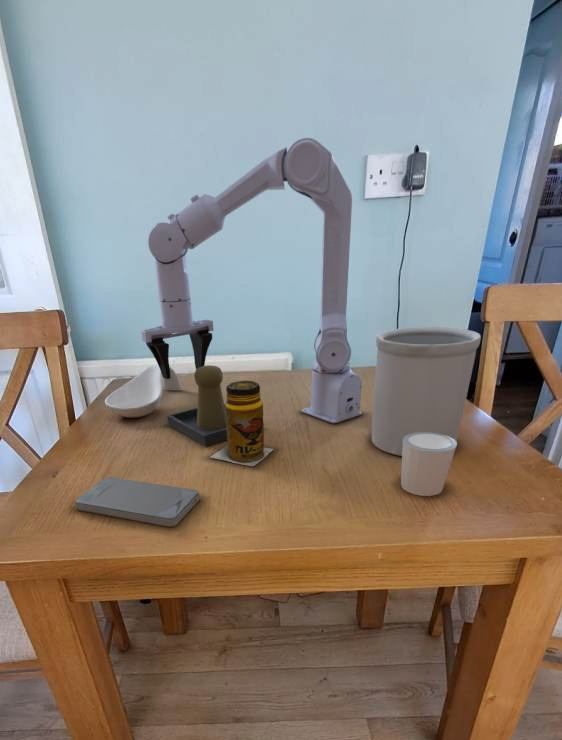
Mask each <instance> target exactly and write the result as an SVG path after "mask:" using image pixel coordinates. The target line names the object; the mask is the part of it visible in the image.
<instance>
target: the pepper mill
mask: <svg viewBox="0 0 562 740" xmlns="http://www.w3.org/2000/svg"><path fill="white" fill-rule="evenodd" d="M193 376H194V382H195V384H196V385H197V387H198V388H197V407H198V412H197V427H198V428H200V429H203V430H218V429H222V428H224V427H226V411H225V406H224V404H225V401H224V395H223V391H222V387H221V384H222V383H223V378H224V373H223V371H222V369H221V368H220V367H219V366H217V365H210V364H209V365H204V366H202V367H199V368H198V369H196V368H195V371H194V375H193Z"/></svg>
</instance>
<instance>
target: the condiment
mask: <svg viewBox="0 0 562 740" xmlns="http://www.w3.org/2000/svg"><path fill="white" fill-rule="evenodd" d="M225 390H226V401H225V403H224V404H225V411H226V427H227V440H226V441H227V442H226V443H227V444H226V445H225V446H224V447H223V448H221V449H219V451H217V452H215V453H214V454H212V455H211V456H210V457H209V458H210V459H215V460H221V461H226V462H230V463H233V464H238V465H243V466H247V467H255V466H256V465H257V464H259V463H260V462H261V461H263V460H264V459H265V458H266V457H267V456H269V454H270V453H272V451H274V448H271V447H270V448H269V447H265V431H264V430H265V427H264V425H265V424H264V403H263V400H261V386H260V384H259V383H258V382H256V381H253V380H238V381H233V382H231V383H230V382H229V384H228V385H227V386H226V389H225Z"/></svg>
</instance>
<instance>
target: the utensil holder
mask: <svg viewBox="0 0 562 740" xmlns="http://www.w3.org/2000/svg"><path fill="white" fill-rule="evenodd" d="M481 339H482V336H481V333H478V332H477V331H474V330H470V329H465V328H459V327H446V326H417V327H405V328H395V329H389V330H385V331H382V332H379V333H378V334H377V335H376V341H375V344H376V347H377V349H376V364H375V374H374V375H375V377H374V389H373V400H372V401H373V402H372V415H371V419H372V420H371V442H372V444H373V445H374V447H376V448H378V449H379V450H381V451H382V452H385V453H388V454H391V455H395V456H399V457H402V449H403V439H404V437H405V436H406V435H409V434H411V433H417V432H432V433H439V434H443V435H446V436H449V437H451V438H453V439H454V440H455V441H456V442H457V441H458V439H459V433H460V429H461V425H462V421H463V416H464V411H465V407H466V401H467V397H468V392H469V387H470V382H471V378H472V373H473V369H474V364H475V359H476V354H477V349H478V348H479V347H480V343H481ZM457 443H458V442H457Z"/></svg>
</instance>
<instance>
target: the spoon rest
mask: <svg viewBox="0 0 562 740" xmlns="http://www.w3.org/2000/svg"><path fill="white" fill-rule="evenodd" d="M169 367H170V366H169ZM181 388H182V385H181V381H180V379H179V377H178V374H177V372H175V370H174V369H173V368H172V367H170V379H165V378H163V376H162V373H161V370H160V368H159V365H158V364H156V365H155V364H154V365H150V366H148V367H147V368H145V369H144V370H142V371H141V372H140V373H139V374H137V375H136V376H135V377H133V378H132V379H130V380H129V381H128V382H126V383H125V384H123V385H122V386H120V387H119V388H117V389H116V390H113V392H111V393H110V394H109V395H107V397H106V398H105V400H104V404H105V406H106V407H107V408H108V409H109V410H110V411H111V412H113V413H114V414H116V415H118V416H120V417H125V418H128V419H137V418H142V417H146V416H149V415H150V414H151V413H152V412H153V411H154V410H155V409H156V408H157V407H158V405H159V404H160V402H161V399H162V395H163V389H165V390H180V389H181Z"/></svg>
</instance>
